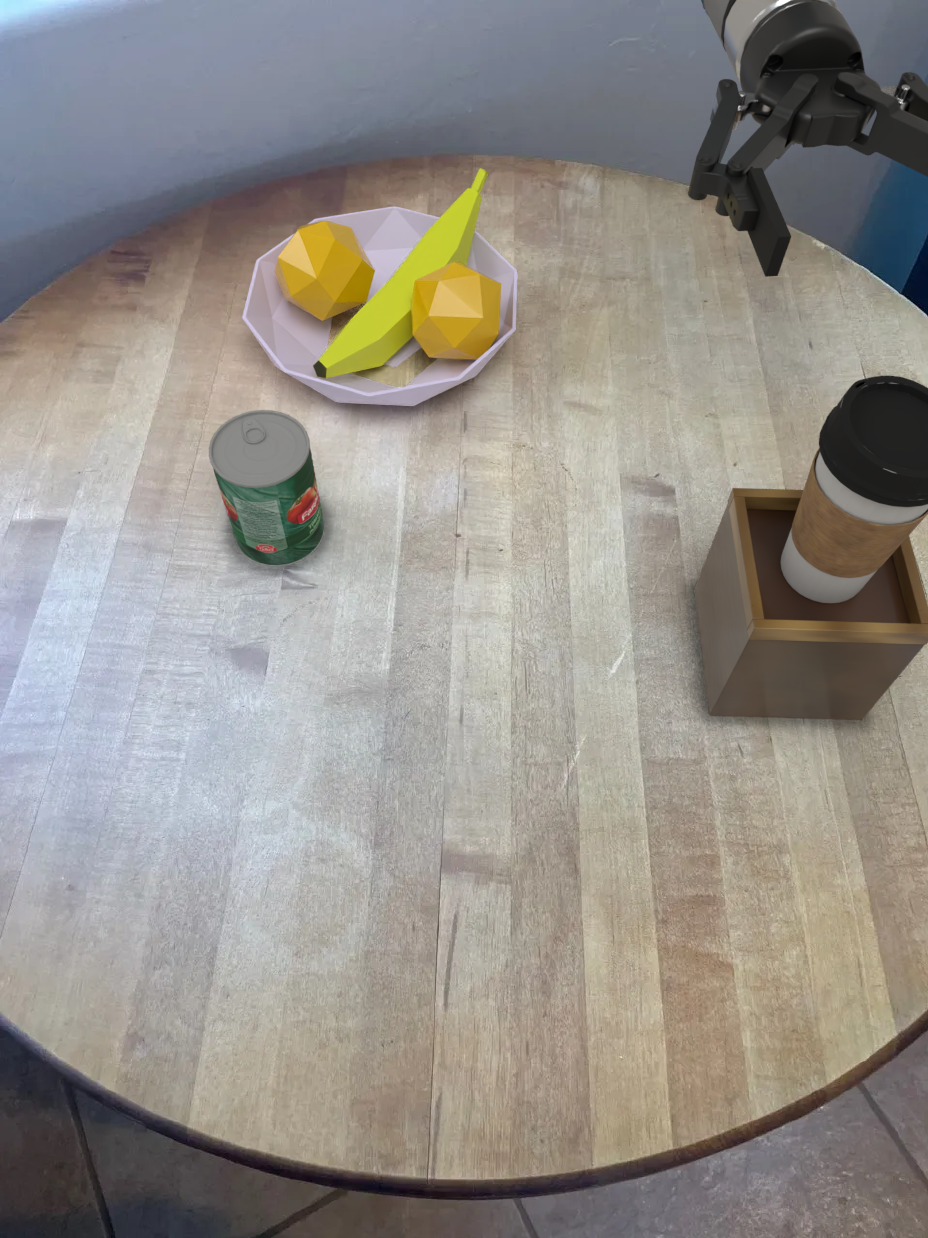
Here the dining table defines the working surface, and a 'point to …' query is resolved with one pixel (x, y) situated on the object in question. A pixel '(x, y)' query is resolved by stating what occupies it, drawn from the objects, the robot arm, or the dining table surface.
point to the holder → (798, 623)
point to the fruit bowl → (384, 300)
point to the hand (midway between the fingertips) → (891, 251)
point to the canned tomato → (268, 486)
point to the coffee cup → (860, 489)
